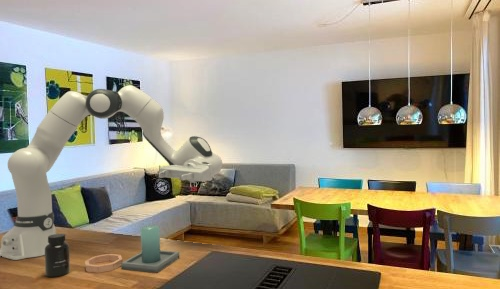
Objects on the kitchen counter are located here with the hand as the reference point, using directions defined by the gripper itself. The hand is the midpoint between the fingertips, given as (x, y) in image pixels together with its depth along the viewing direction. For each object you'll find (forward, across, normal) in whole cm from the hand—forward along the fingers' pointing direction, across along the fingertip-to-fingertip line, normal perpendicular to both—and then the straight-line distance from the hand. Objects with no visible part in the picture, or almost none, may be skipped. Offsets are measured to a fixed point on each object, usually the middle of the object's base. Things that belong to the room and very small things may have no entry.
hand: (170, 176), depth 132 cm
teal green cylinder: (+13, +2, +26) cm, 29 cm away
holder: (+21, -11, +27) cm, 36 cm away
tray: (+13, +2, +26) cm, 30 cm away
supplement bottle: (+32, -19, +27) cm, 46 cm away
